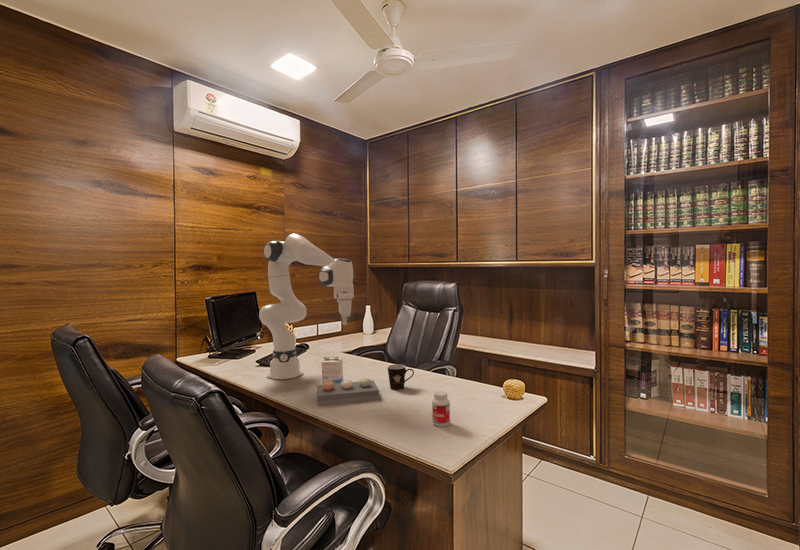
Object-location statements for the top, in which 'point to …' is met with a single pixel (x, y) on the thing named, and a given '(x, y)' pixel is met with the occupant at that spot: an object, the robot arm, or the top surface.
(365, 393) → the console
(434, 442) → the top surface
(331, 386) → the terracotta button
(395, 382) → the coffee mug
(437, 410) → the pill bottle
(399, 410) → the top surface
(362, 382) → the sage button
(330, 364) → the ink box
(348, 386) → the cream button
